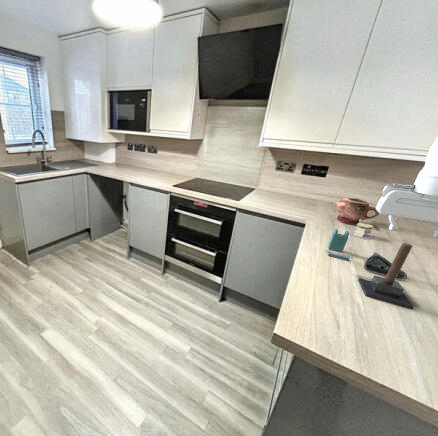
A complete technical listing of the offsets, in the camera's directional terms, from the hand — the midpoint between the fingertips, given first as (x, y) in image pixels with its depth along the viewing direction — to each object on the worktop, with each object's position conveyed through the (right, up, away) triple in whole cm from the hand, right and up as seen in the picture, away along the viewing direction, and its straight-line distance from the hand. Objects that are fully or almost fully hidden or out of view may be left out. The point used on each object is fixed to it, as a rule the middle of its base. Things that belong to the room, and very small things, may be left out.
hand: (414, 233), depth 69 cm
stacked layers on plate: (+33, -4, +54) cm, 63 cm away
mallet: (+1, -15, +11) cm, 19 cm away
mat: (-1, -20, +8) cm, 22 cm away
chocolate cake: (+11, -16, +21) cm, 29 cm away
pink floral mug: (+42, +2, +70) cm, 82 cm away
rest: (+4, -11, +33) cm, 35 cm away
